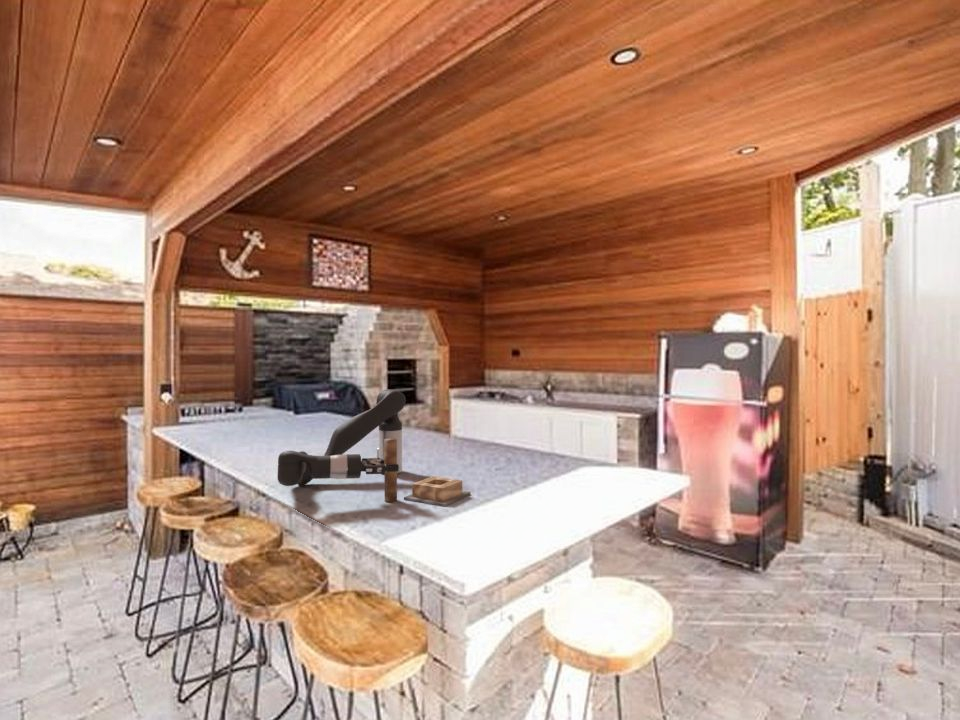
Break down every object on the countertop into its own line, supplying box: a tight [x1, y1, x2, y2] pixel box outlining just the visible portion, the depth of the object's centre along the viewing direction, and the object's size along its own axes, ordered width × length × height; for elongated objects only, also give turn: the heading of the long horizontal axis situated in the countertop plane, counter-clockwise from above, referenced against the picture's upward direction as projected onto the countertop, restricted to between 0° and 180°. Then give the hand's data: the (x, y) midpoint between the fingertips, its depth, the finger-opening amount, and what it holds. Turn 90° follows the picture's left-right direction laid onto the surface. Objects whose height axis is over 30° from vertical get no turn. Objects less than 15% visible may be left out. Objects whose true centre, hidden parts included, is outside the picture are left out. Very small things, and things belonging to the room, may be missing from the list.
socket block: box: [403, 476, 471, 507], centre depth 180 cm, size 16×16×5 cm
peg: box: [383, 439, 398, 503], centre depth 176 cm, size 4×4×20 cm
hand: (396, 465), depth 176 cm, fingers open, 8 cm apart
